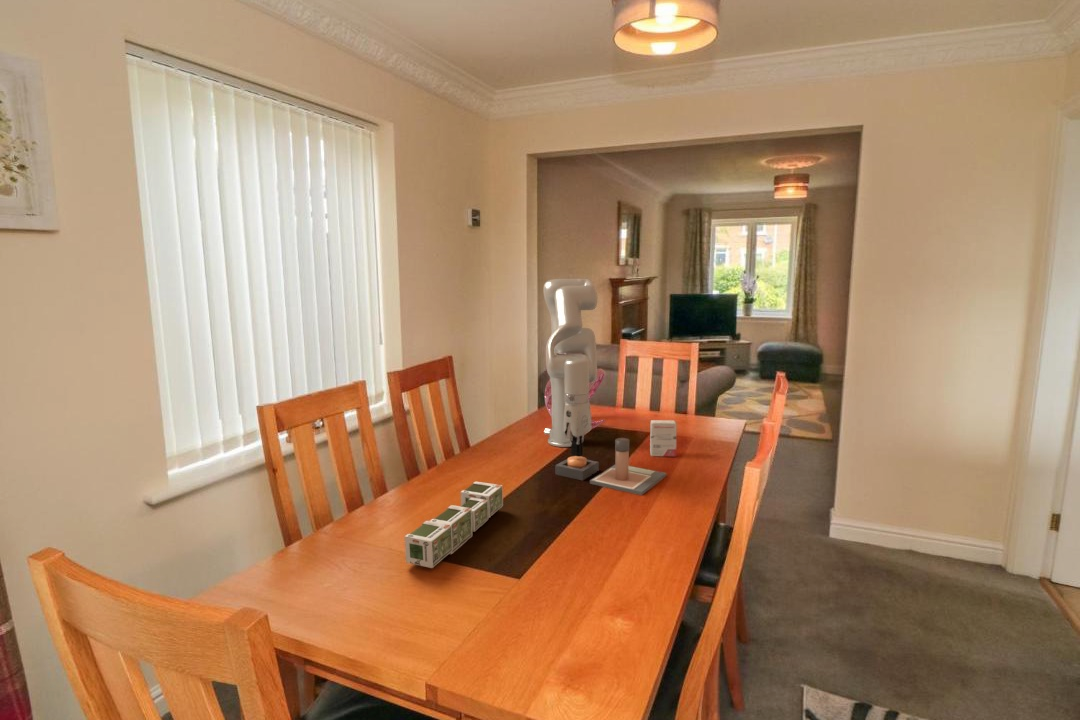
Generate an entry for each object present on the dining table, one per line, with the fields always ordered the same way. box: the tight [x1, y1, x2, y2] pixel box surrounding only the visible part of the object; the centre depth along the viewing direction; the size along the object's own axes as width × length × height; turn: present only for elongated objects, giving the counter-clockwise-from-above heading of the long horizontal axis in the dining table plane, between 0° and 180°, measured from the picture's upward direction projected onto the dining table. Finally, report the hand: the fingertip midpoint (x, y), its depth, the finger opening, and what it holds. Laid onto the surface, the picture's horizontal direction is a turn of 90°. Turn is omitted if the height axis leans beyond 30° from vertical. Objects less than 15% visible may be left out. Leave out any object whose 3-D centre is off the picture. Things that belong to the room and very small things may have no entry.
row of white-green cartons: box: [404, 481, 504, 569], centre depth 145 cm, size 35×8×7 cm, turn 157°
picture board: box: [589, 464, 667, 496], centre depth 181 cm, size 17×18×1 cm
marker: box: [614, 437, 630, 481], centre depth 179 cm, size 4×4×12 cm
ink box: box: [649, 419, 678, 457], centre depth 204 cm, size 9×5×12 cm, turn 84°
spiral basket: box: [544, 368, 606, 430], centre depth 238 cm, size 28×28×27 cm
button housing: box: [554, 458, 600, 481], centre depth 188 cm, size 10×10×3 cm
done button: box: [567, 455, 588, 469], centre depth 188 cm, size 6×6×2 cm
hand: (577, 455), depth 187 cm, fingers closed
